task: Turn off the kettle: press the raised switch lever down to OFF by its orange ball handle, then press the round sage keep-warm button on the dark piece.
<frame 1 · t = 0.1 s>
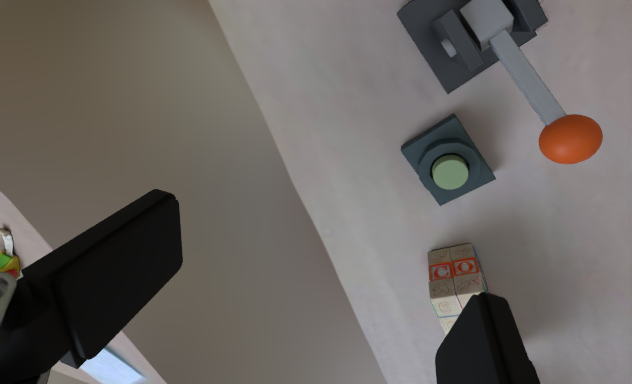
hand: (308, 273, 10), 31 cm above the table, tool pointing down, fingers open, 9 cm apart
stack of blocks: (469, 300, 46), on the table
warm button: (449, 172, 34), point 4 cm above the table, slide at 0.1 cm
toy measuring tape: (13, 254, 77), on the table
switch bracket: (462, 24, 31), on the table
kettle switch: (526, 78, 21), point 13 cm above the table, hinge at 25.0°
dark piece: (445, 159, 38), on the table
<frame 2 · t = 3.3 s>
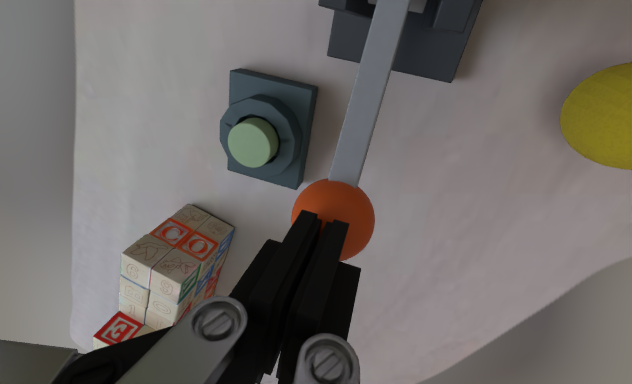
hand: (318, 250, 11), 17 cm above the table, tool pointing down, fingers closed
stack of blocks: (197, 272, 40), on the table
warm button: (253, 142, 24), point 4 cm above the table, slide at 0.1 cm
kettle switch: (368, 93, 11), point 13 cm above the table, hinge at 24.3°, touching gripper
lemon: (588, 100, 20), on the table
dark piece: (273, 128, 27), on the table
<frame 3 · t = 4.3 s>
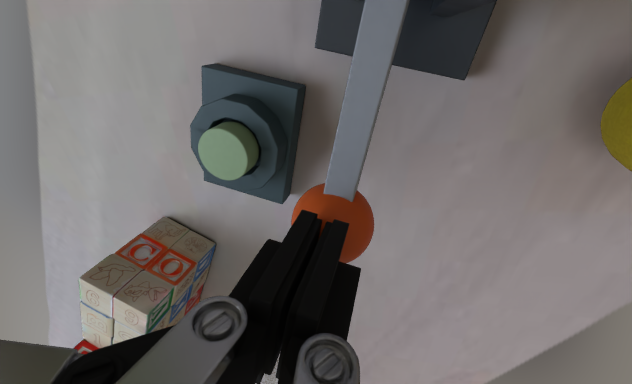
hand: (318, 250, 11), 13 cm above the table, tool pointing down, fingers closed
stack of blocks: (178, 289, 36), on the table
warm button: (229, 151, 20), point 4 cm above the table, slide at 0.1 cm
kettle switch: (363, 96, 9), point 11 cm above the table, hinge at 1.3°, touching gripper
dark piece: (255, 133, 24), on the table
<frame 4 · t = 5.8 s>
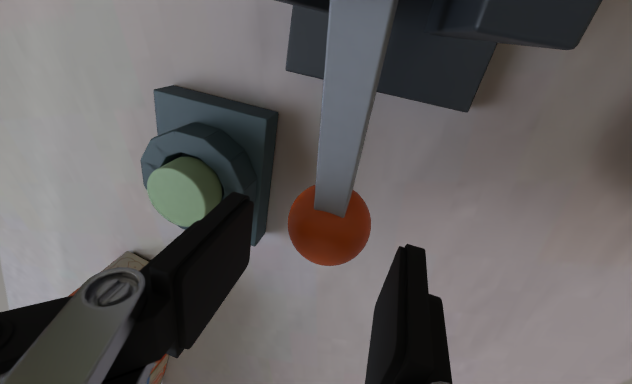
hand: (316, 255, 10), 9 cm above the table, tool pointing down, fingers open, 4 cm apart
stack of blocks: (148, 326, 33), on the table
warm button: (185, 191, 17), point 4 cm above the table, slide at 0.1 cm
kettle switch: (344, 126, 8), point 9 cm above the table, hinge at -24.0°
dark piece: (223, 165, 20), on the table
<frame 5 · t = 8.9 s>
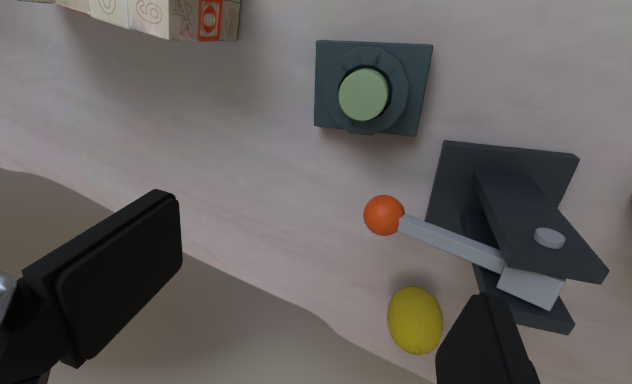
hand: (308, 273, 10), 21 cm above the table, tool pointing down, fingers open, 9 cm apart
warm button: (363, 94, 23), point 4 cm above the table, slide at 0.1 cm
switch bracket: (490, 193, 28), on the table
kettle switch: (446, 240, 21), point 9 cm above the table, hinge at -24.0°
lemon: (414, 289, 35), on the table
dark piece: (369, 86, 26), on the table
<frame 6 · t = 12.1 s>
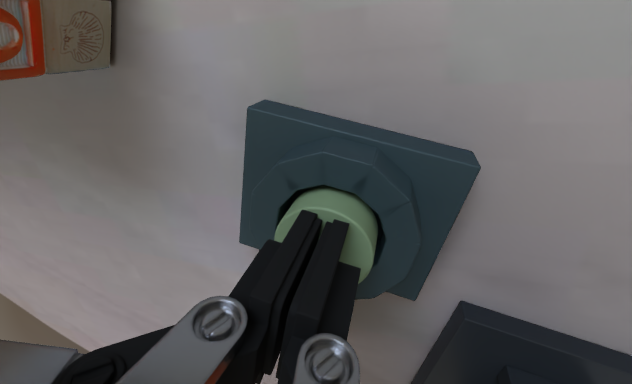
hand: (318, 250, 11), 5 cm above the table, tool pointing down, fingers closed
warm button: (327, 238, 11), point 4 cm above the table, slide at -0.2 cm, touching gripper
dark piece: (345, 194, 14), on the table
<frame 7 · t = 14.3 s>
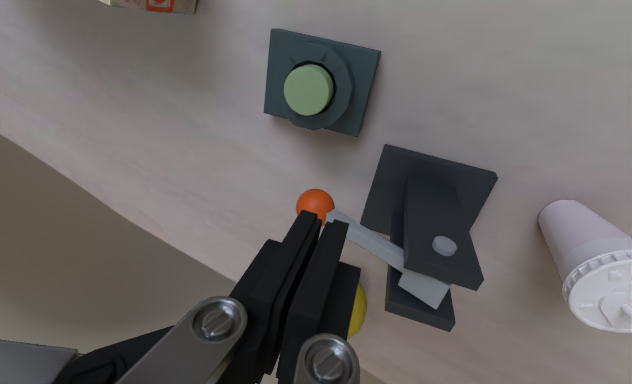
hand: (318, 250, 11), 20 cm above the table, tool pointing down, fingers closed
warm button: (308, 90, 24), point 4 cm above the table, slide at 0.1 cm
smoothie: (561, 216, 27), on the table
switch bracket: (421, 198, 30), on the table
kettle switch: (365, 238, 23), point 9 cm above the table, hinge at -24.0°
lemon: (347, 279, 38), on the table
dark piece: (320, 82, 27), on the table
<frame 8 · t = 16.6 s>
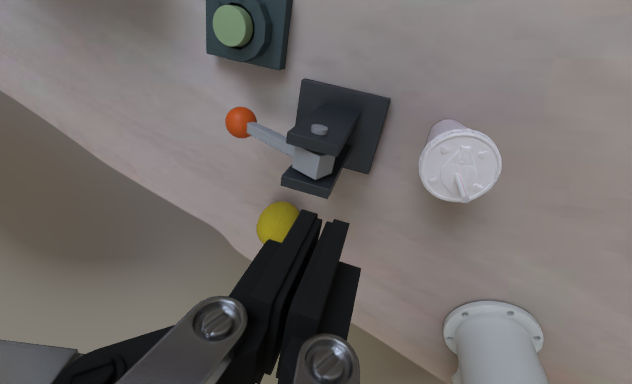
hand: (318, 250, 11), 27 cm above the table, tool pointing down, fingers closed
warm button: (233, 26, 30), point 4 cm above the table, slide at 0.1 cm
smoothie: (446, 135, 34), on the table
switch bracket: (338, 126, 36), on the table
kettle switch: (273, 139, 29), point 9 cm above the table, hinge at -24.0°
lemon: (290, 208, 44), on the table
dark piece: (250, 27, 34), on the table
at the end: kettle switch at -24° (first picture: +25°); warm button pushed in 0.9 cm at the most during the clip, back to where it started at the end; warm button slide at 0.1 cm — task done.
